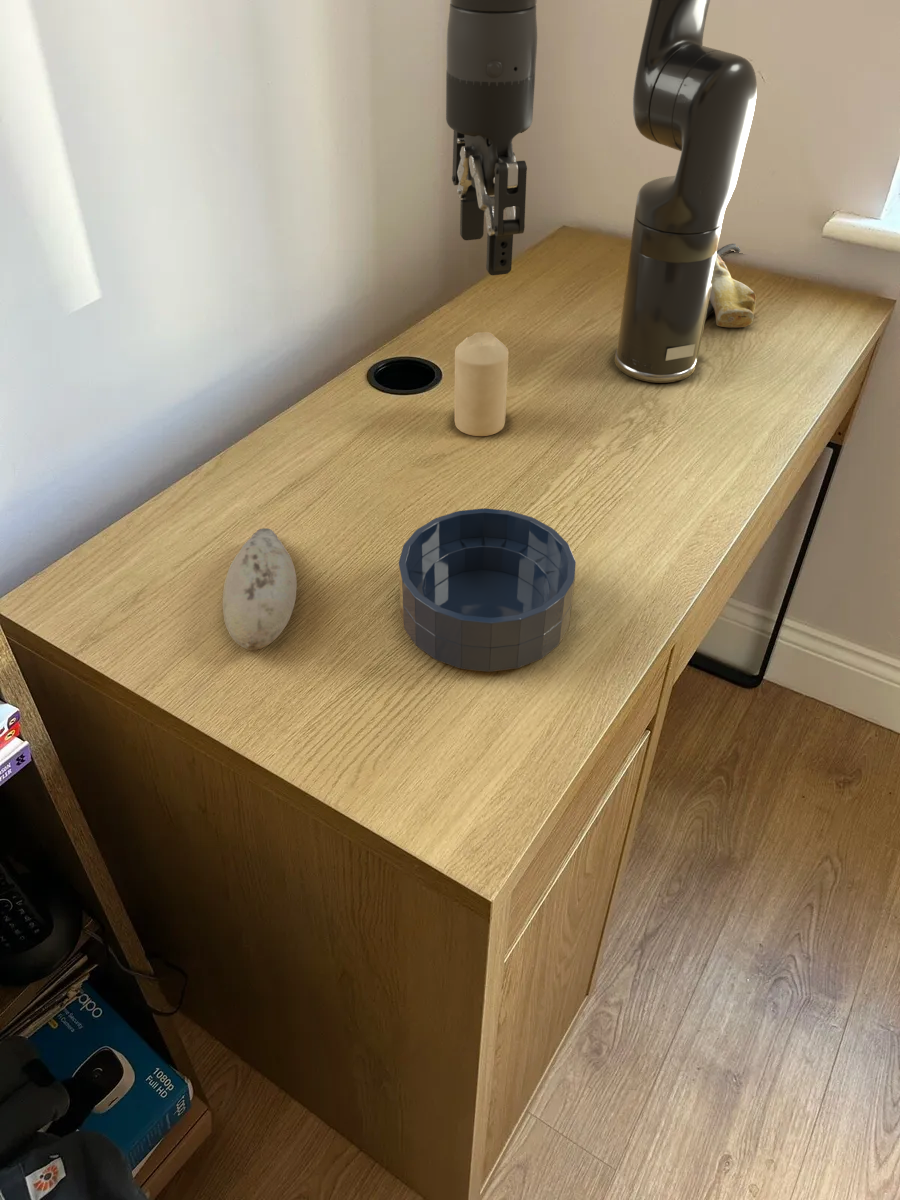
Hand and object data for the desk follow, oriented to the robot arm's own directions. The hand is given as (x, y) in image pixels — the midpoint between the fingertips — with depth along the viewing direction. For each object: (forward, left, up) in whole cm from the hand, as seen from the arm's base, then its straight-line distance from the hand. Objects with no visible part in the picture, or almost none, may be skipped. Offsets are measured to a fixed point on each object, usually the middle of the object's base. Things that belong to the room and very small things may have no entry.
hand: (484, 255), depth 92 cm
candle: (0, 0, -19) cm, 19 cm away
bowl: (+22, +21, -19) cm, 36 cm away
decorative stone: (+34, +6, -19) cm, 39 cm away
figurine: (-44, +3, -19) cm, 48 cm away
